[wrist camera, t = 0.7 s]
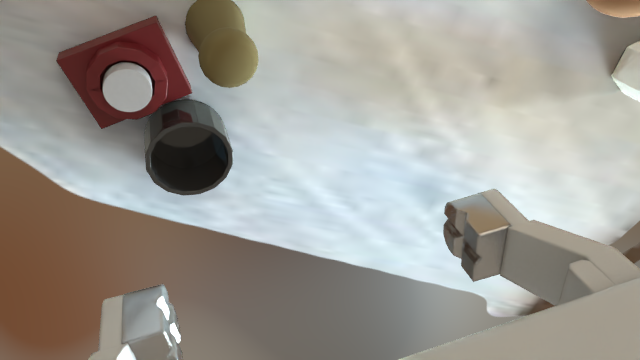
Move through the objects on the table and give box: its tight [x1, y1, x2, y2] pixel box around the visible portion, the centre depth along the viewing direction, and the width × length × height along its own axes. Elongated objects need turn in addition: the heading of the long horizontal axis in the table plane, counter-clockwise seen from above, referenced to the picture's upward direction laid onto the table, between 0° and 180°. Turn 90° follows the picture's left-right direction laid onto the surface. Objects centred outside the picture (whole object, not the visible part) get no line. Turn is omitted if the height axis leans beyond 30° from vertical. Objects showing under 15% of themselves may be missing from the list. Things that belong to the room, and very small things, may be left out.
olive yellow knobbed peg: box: [185, 0, 258, 88], centre depth 47 cm, size 6×6×11 cm
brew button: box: [102, 62, 152, 112], centre depth 48 cm, size 4×4×2 cm
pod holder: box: [144, 100, 233, 195], centre depth 55 cm, size 9×9×6 cm
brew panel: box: [57, 16, 192, 129], centre depth 50 cm, size 8×10×4 cm
